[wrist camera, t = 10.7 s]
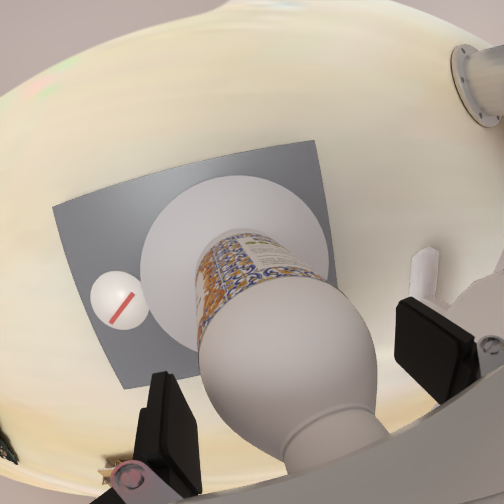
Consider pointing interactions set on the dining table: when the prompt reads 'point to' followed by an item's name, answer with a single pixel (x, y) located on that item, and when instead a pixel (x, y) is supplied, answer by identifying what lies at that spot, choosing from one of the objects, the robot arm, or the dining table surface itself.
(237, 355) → the bath foam
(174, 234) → the dial scale
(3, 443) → the decorative rock
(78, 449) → the dining table surface
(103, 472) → the architectural model
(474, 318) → the heart sculpture
